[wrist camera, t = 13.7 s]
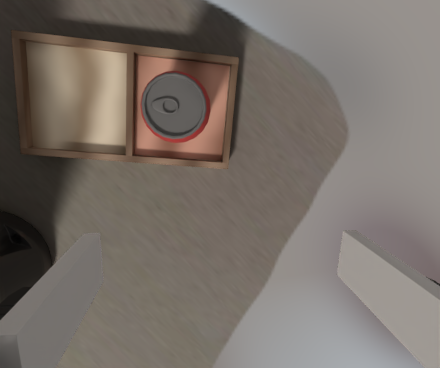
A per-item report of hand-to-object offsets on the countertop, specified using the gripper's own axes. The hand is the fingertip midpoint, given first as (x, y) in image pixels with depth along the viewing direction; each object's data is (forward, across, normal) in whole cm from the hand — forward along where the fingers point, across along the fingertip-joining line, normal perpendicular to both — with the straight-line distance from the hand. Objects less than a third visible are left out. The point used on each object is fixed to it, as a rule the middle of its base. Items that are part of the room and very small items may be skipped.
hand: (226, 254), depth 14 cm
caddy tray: (+25, -10, +8) cm, 28 cm away
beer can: (+23, -3, +8) cm, 25 cm away
